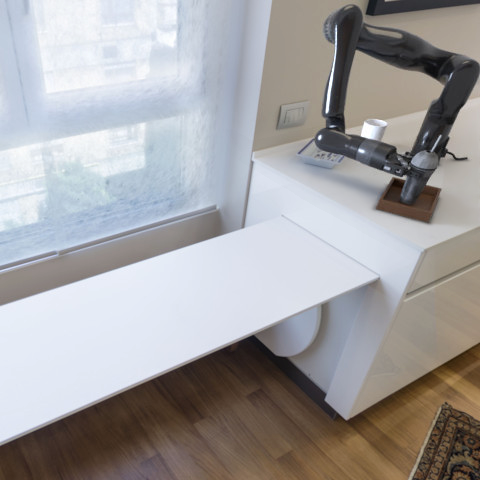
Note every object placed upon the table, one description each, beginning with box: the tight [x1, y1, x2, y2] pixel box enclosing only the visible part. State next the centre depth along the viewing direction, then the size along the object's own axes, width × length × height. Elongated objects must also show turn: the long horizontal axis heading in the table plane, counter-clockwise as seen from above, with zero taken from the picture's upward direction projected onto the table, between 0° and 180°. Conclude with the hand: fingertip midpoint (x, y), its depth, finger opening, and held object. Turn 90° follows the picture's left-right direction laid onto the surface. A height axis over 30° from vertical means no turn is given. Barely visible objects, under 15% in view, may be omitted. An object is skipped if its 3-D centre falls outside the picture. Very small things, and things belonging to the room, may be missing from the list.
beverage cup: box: [400, 135, 442, 205], centre depth 128 cm, size 7×7×20 cm
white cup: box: [360, 118, 389, 142], centre depth 162 cm, size 8×8×10 cm
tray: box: [375, 176, 442, 224], centre depth 134 cm, size 19×15×3 cm
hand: (428, 172), depth 127 cm, fingers closed on beverage cup, 7 cm apart
